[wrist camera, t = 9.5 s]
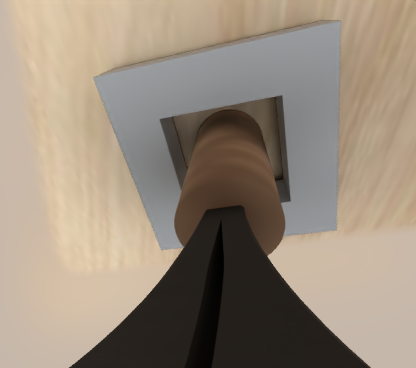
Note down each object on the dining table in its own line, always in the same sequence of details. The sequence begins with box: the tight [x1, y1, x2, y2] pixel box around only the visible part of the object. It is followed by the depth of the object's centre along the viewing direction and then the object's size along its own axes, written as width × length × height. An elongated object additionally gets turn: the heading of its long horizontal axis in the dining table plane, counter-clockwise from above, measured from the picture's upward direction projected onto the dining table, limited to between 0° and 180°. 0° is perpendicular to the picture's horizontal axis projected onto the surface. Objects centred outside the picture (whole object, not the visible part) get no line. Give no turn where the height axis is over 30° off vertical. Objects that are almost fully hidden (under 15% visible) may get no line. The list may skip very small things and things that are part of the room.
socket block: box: [93, 20, 341, 250], centre depth 16 cm, size 11×11×2 cm
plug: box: [174, 110, 286, 256], centre depth 14 cm, size 4×4×8 cm
